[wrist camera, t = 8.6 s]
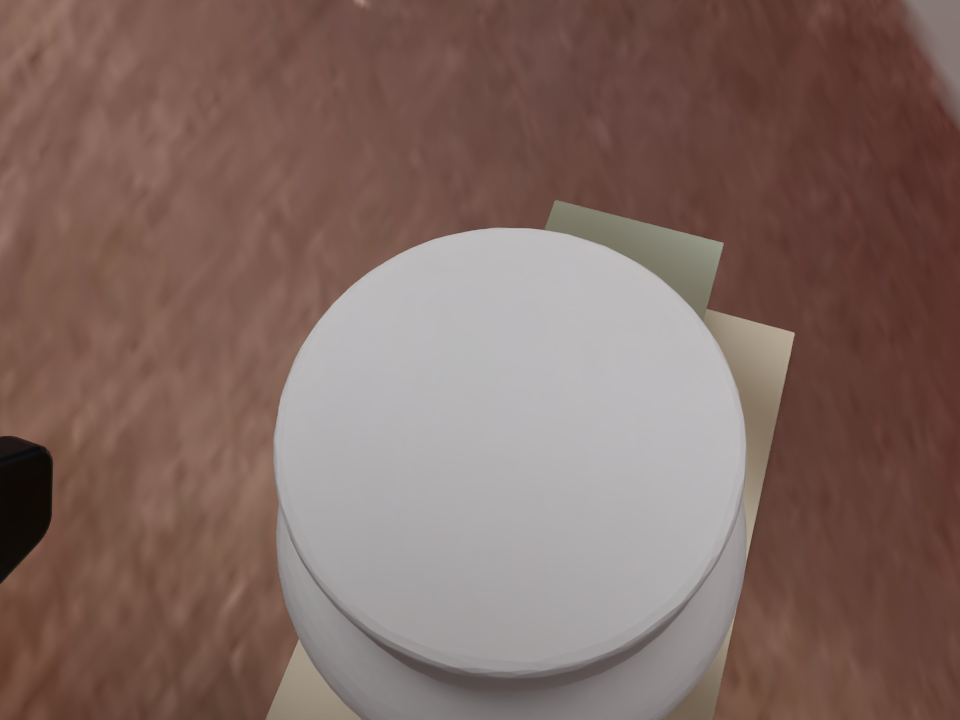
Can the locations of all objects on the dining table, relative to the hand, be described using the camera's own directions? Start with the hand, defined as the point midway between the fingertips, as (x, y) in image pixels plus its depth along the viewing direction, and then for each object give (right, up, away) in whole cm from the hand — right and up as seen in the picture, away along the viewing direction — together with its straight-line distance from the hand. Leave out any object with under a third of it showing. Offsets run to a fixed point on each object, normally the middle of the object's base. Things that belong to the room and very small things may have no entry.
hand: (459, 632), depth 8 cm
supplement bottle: (+1, -2, +8) cm, 8 cm away
